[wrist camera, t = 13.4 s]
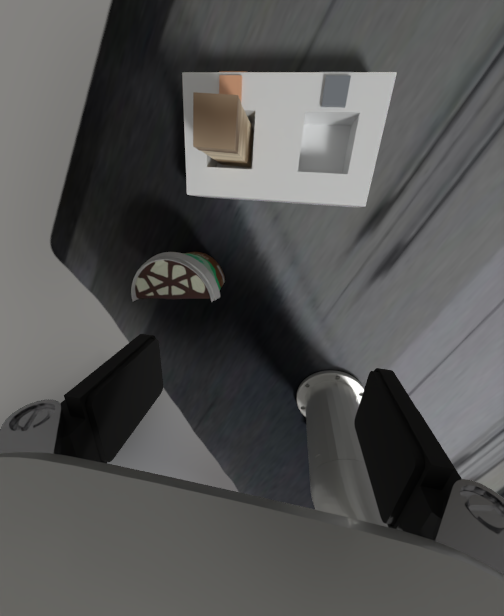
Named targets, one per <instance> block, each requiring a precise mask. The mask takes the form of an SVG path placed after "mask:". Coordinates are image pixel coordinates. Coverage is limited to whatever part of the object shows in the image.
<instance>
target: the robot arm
mask: <svg viewBox="0 0 504 616" xmlns="http://www.w3.org/2000/svg"><path fill="white" fill-rule="evenodd" d="M162 389H163V379H162V369H161V360H160V350H159V342H158V340H157V339H156V338H155V336H153V335H146V334H140V335H139V336H137V337H136V338H135V339H134V340H132V341H131V342H130V343H129V344H127V345H126V346H125V347H124V348H123V349H121V350H120V351H119V352H117V353H116V354H115V355H114V356H112V357H111V358H110V359H109V360H108V361H106V362H105V363H104V364H103V365H101V366H100V367H99V368H98V369H96V370H95V371H94V372H93V373H91V374H90V375H89V376H88V377H86V378H85V379H84V380H83V381H82V382H80V383H79V384H78V385H76V386H75V387H74V388H73V389H72V390H70V391H69V392H68V393H67V394H65V395H64V397H65V400H64V401H63V402H62V403H59V402H58V401H56V400H41V401H37V402H34V403H31V404H28V405H26V406H24V407H22V408H20V409H18V410H17V411H15V412H14V413H12V414H11V415H10V416H9V417H8V418H7V419H6V420H5V422H4V423H3V425H2V427H1V429H0V616H504V498H503V497H501V496H500V495H498V494H497V493H496V492H494V491H493V490H492V489H490V488H488V487H486V486H484V485H482V484H480V483H478V482H475V481H472V480H466V479H461V477H460V475H459V474H458V472H457V471H456V469H455V468H454V466H453V464H452V463H451V461H450V460H449V458H448V456H447V455H446V453H445V452H444V450H443V449H442V447H441V445H440V444H439V442H438V441H437V439H436V437H435V436H434V434H433V433H432V431H431V430H430V428H429V426H428V425H427V423H426V422H425V420H424V419H423V417H422V415H421V414H420V412H419V411H418V410H417V408H416V407H415V405H414V404H413V402H412V400H411V399H410V397H409V396H408V394H407V393H406V391H405V389H404V388H403V386H402V385H401V383H400V381H399V380H398V378H397V377H396V375H395V373H394V372H393V371H391V370H385V369H379V368H377V369H375V371H371V372H370V373H369V376H368V379H367V382H366V386H365V389H364V387H363V386H362V384H361V383H360V382H359V381H358V380H357V379H356V378H355V377H353V376H351V375H349V374H347V373H344V372H340V371H332V370H328V371H321V372H317V373H314V374H312V375H310V376H308V377H307V378H306V379H304V380H303V382H302V383H301V384H300V386H299V387H298V390H297V405H298V408H299V409H300V411H301V413H302V414H303V415H304V416H305V417H306V425H307V441H308V456H309V472H310V486H311V496H312V500H313V504H314V506H315V509H316V510H314V509H310V508H305V507H301V506H297V505H292V504H288V503H284V502H279V501H275V500H270V499H266V498H262V497H257V496H253V495H248V494H244V493H239V492H235V491H230V490H226V489H221V488H216V487H212V486H208V485H203V484H198V483H194V482H190V481H185V480H181V479H176V478H172V477H167V476H162V475H158V474H153V473H149V472H144V471H139V470H134V469H130V468H125V467H121V466H116V465H112V464H107V462H110V461H112V460H113V459H114V457H115V456H116V454H117V453H118V451H119V450H120V449H121V448H122V446H123V445H124V443H125V442H126V441H127V439H128V438H129V437H130V435H131V434H132V432H133V431H134V430H135V428H136V427H137V426H138V424H139V423H140V421H141V420H142V419H143V417H144V416H145V415H146V413H147V412H148V410H149V409H150V408H151V406H152V405H153V404H154V402H155V401H156V399H157V398H158V397H159V395H160V394H161V392H162Z"/></svg>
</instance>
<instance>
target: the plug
mask: <svg viewBox="0 0 504 616" xmlns="http://www.w3.org/2000/svg"><path fill="white" fill-rule="evenodd" d="M253 140H254V130H253V128H252V126H251V123H250V121H249V119H248V117H247V115H246V113H245V111H244V109H243V107H242V105H241V101H240V99H239V96H238V95H228V94H213V93H197V92H193V147H195V148H196V149H198V150H200V151H202V152H204V153H205V154H207V155H208V156H210V157H211V158H213V159H214V160H216V161H217V162H219V163H220V164H222V165H229V166H240V167H250V168H251V163H252V152H253Z"/></svg>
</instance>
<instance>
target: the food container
mask: <svg viewBox="0 0 504 616" xmlns="http://www.w3.org/2000/svg"><path fill="white" fill-rule="evenodd" d="M224 282H225V276H224V273H223V271H222V269H221V267H220V265H219V264H218V263H217V262H216V261H215V259H214V258H212V257H210V256H209V255H207V254H205V253H201V252H189V253H184V254H183V253H178V252H164V253H160V254H157V255H155V256H153V257H151V258H150V259H149V260H148V261H147V262H145V263H144V264H143V265H142V266H141V267H140V268H139V270H138V271H137V273H136V275H135V277H134V279H133V282H132V287H131V297H132V302H133V301H135V300H137V299H144V298H157V299H211V302H213V301H214V300H217V299H218V298H219V297H220V292H219V291H220V289H221V287H222V286H223V284H224Z"/></svg>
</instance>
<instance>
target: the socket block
mask: <svg viewBox="0 0 504 616" xmlns="http://www.w3.org/2000/svg"><path fill="white" fill-rule="evenodd" d="M396 74H397V72H354V71H323V72H247V71H219V72H182V81H183V107H184V133H185V159H186V184H187V195H192V196H198V197H210V198H225V199H240V200H254V201H269V202H284V203H299V204H314V205H329V206H344V207H365V206H366V202H367V198H368V193H369V189H370V185H371V180H372V176H373V172H374V168H375V163H376V159H377V155H378V151H379V146H380V142H381V138H382V134H383V129H384V125H385V121H386V116H387V112H388V108H389V104H390V99H391V95H392V91H393V87H394V82H395V78H396ZM193 92H197V93H213V94H228V95H238V96H239V99H240V101H241V105H242V107H243V109H244V111H245V113H246V115H247V117H248V119H249V121H250V123H251V126H252V128H253V130H254V140H253V152H252V163H251V168H250V167H240V166H229V165H222V164H220V163H219V162H217V161H216V160H214V159H213V158H211V157H210V156H208V155H207V154H205V153H204V152H202V151H200V150H198V149H196V148H195V147H193Z"/></svg>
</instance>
